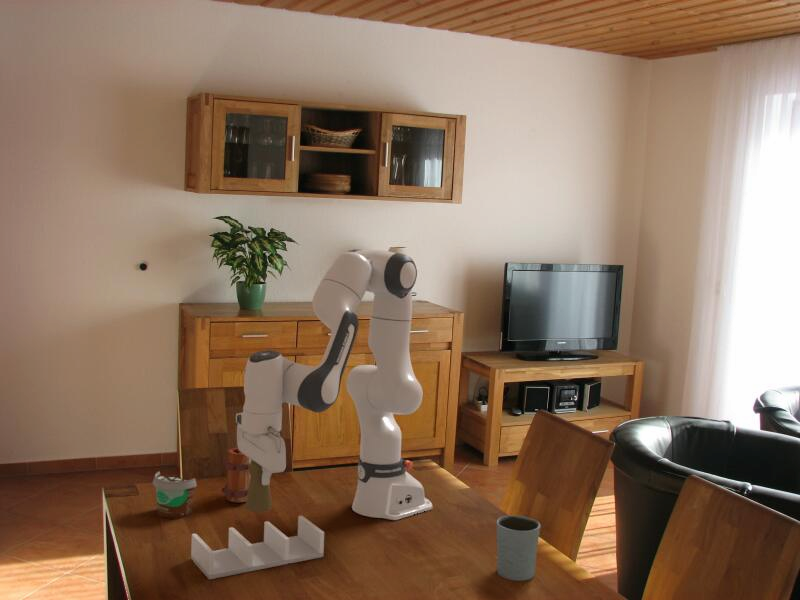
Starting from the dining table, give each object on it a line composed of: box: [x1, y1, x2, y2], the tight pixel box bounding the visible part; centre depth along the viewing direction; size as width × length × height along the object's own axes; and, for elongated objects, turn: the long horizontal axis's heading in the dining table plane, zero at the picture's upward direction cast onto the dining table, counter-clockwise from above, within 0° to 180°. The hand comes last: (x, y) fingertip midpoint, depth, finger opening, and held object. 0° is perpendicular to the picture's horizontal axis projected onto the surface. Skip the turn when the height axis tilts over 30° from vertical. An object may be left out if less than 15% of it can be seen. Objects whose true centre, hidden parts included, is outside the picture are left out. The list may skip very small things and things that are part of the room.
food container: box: [152, 471, 197, 519], centre depth 228 cm, size 12×6×10 cm, turn 68°
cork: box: [244, 461, 272, 513], centre depth 202 cm, size 6×6×11 cm
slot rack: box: [190, 515, 325, 580], centre depth 204 cm, size 28×12×6 cm, turn 122°
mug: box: [221, 447, 251, 504], centre depth 243 cm, size 15×8×15 cm, turn 168°
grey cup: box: [496, 515, 541, 582], centre depth 202 cm, size 10×10×12 cm
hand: (259, 480), depth 202 cm, fingers closed on cork, 4 cm apart
